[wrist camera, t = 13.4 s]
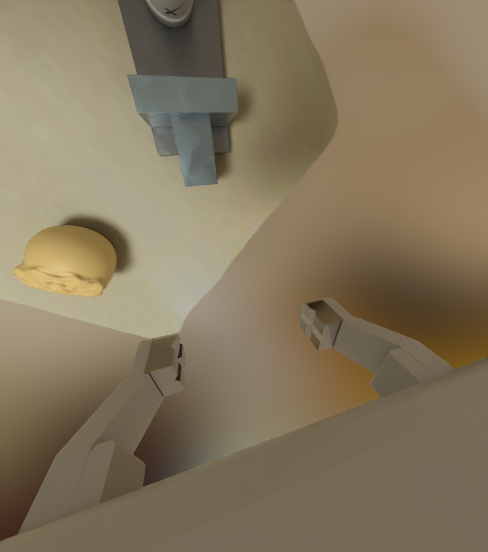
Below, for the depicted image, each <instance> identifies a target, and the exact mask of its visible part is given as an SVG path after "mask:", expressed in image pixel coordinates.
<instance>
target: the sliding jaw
mask: <svg viewBox="0 0 488 552" xmlns="http://www.w3.org/2000/svg"><path fill="white" fill-rule="evenodd" d="M127 77H128V80H129V84H130V87H131V91H132V94H133V98H134V101H135V105H136V108H137V112H138V114H139V115H140V116H141V117H142V118H143V119H144V120H145V121H146V122H147V123H148V125H149V126H150V127H173V129H174V134H175V139H176V143H177V148H178V153H179V158H180V163H181V167H182V172H183V177H184V182H185V186H197V185H210V184H218V182H217V173H216V165H215V157H214V148H213V140H212V132H211V126H228V125H229V124H230V122H231V121H232V120H233V119H234V117H235V116H236V115H237V113H238V98H237V80H236V79H233V78H205V77H177V76H149V75H127Z"/></svg>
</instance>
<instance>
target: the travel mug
mask: <svg viewBox="0 0 488 552" xmlns="http://www.w3.org/2000/svg"><path fill="white" fill-rule="evenodd" d="M145 2H146V4H147V6H148V7H149V9H150V10H151V12H152V13H153V15H154V16H155V17H156V18H157V19H158V20H159V21H160V22H161V23H163V24H165V25H166V26H168V27H172V28H178V27H181V26H183V25H184V24H186V23H187V21H188V20H189V18H190V16H191V14H192V10H193V4H194V0H145Z"/></svg>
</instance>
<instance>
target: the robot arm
mask: <svg viewBox="0 0 488 552" xmlns="http://www.w3.org/2000/svg"><path fill="white" fill-rule="evenodd" d="M301 310H302V311H303V313H302V314H301V315H300V324H301V327H302V329H303V331H304V332H305V333H306V334H308V335H310V341H311V342H312V343H313V345H314V346H315V348H316V349H317V350H318V351H319V350H323V349H327V348H331V347H333V348H334V349H336V350H338V351H339V352H341V353H342V354H344V355H345V356H347V357H348V358H350V359H351V360H353V361H355V362H356V363H358V364H359V365H361V366H362V367H364V368H365V369H367V370H369V371H370V372H372V373H373V374H375V375H374V377H373V378H372V380H371V381H370V385H371V386H372V388H373V389H374V390H375V392H376V393H377V394H378V395H379V396H380V398H378V399H376V400H373V401H370V402H368V403H365V404H363V405H360V406H357V407H355V408H352V409H349V410H347V411H344V412H342V413H339V414H336V415H334V416H331V417H328V418H325V419H323V420H320V421H318V422H315V423H313V424H310V425H307V426H305V427H302V428H299V429H297V430H294V431H291V432H289V433H286V434H283V435H281V436H278V437H275V438H273V439H270V440H267V441H265V442H262V443H259V444H257V445H254V446H251V447H249V448H246V449H244V450H241V451H238V452H236V453H233V454H231V455H228V456H225V457H222V458H220V459H217V460H214V461H212V462H209V463H207V464H204V465H201V466H199V467H196V468H193V469H191V470H188V471H186V472H183V473H180V474H178V475H175V476H172V477H170V478H167V479H164V480H162V481H159V482H156V483H154V484H151V485H148V486H146V487H143V488H142V485H143V479H144V472H145V465H144V463H143V462H142V461H141V460H139V459H138V458H137V457H135V456H134V455H133V453H134V451H135V449H136V448H137V446H138V444H139V442H140V440H141V439H142V437H143V435H144V433H145V431H146V430H147V428H148V426H149V424H150V422H151V420H152V419H153V417H154V415H155V413H156V411H157V410H158V408H159V406H160V404H161V402H162V400H163V399H164V396H167V395H170V394H174V393H177V392H180V391H183V390H184V385H185V373H184V371H183V368H184V366H185V351H184V347H183V345H182V344H180V337H179V335H178V334H177V333H176V334H171V335H166V336H162V337H157V338H153V339H148V340H143V341H141V343H140V344H139V346H138V349H137V352H136V355H135V359H134V362H133V365H132V368H131V371H130V375H129V378H127V379H124V380H123V381H122V383H120V385H119V386H118V387H117V388H116V389H115V390H114V391H113V393H112V394H111V395H110V396H109V397H108V398H107V399H106V400H105V401H104V403H103V404H102V405H101V406H100V407H99V408H98V409H97V411H96V412H95V413H94V414H93V415H92V416H91V417H90V418H89V419H88V421H87V422H86V423H85V424H84V425H83V426H82V427H81V428H80V429H79V431H78V432H77V433H76V434H75V435H74V436H73V437H72V438H71V440H70V441H69V442H68V443H67V444H66V445H65V446H64V448H63V449H62V450H61V451H60V452H59V453H58V454H57V455H56V457H55V459H54V461H53V463H52V465H51V467H50V469H49V471H48V473H47V475H46V478H45V479H44V481H43V484H42V486H41V488H40V490H39V492H38V494H37V496H36V498H35V500H34V502H33V504H32V506H31V508H30V510H29V512H28V515H27V517H26V519H25V521H24V523H23V525H22V527H21V529H20V531H19V533H18V535H16V536H14V537H11V538H8V539H6V540H3V541H0V552H488V357H487V358H484V359H481V360H479V361H476V362H474V363H471V364H468V365H466V366H463V367H460V368H458V369H454V368H453V367H452V366H450V365H449V364H448V363H446V362H445V361H444V360H442V359H441V358H440V357H438V356H437V355H436V354H434V353H433V352H432V351H430V350H429V349H428V348H426V347H425V346H424V345H422V344H421V343H420V342H418V341H416V340H414V339H411V338H409V337H406V336H404V335H401V334H398V333H396V332H393V331H390V330H388V329H385V328H383V327H380V326H378V325H375V324H372V323H370V322H367V321H365V320H362V319H360V318H353V317H352V316H351V315H350V314H349V313H348V312H347V311H346V310H345V309H343V308H342V307H341V306H340V305H339V304H338V303H337V302H335V301H334V300H333V299H332V298H325V299H321V300H316V301H312V302H308V303H304V304H303V305H302V308H301Z"/></svg>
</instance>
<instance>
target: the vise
mask: <svg viewBox="0 0 488 552" xmlns="http://www.w3.org/2000/svg"><path fill="white" fill-rule="evenodd" d="M118 2H119V6H120V10H121V14H122V18H123V21H124V25H125V29H126V33H127V37H128V41H129V44H130V48H131V52H132V56H133V60H134V64H135V67H136V71H137V75H149V76H177V77H205V78H224V76H223V64H222V51H221V39H220V27H219V14H218V2H217V0H194V4H193V10H192V14H191V16H190V18H189V20H188V21H187V23H186V24H184V25H183V26H181V27H178V28H172V27H168V26H166V25H165V24H163V23H161V22H160V21H159V20H158V19H157V18H156V17H155V16H154V15H153V13H152V12H151V10H150V9H149V7H148V6H147V4H146V2H145V0H118ZM151 129H152V133H153V136H154V140H155V144H156V148H157V152H158V155H159V156H174V155H179V153H178V148H177V143H176V139H175V134H174V129H173V127H151ZM211 132H212V140H213V148H214V154H217V153H229V152H230V150H229V138H228V126H211Z"/></svg>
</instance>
